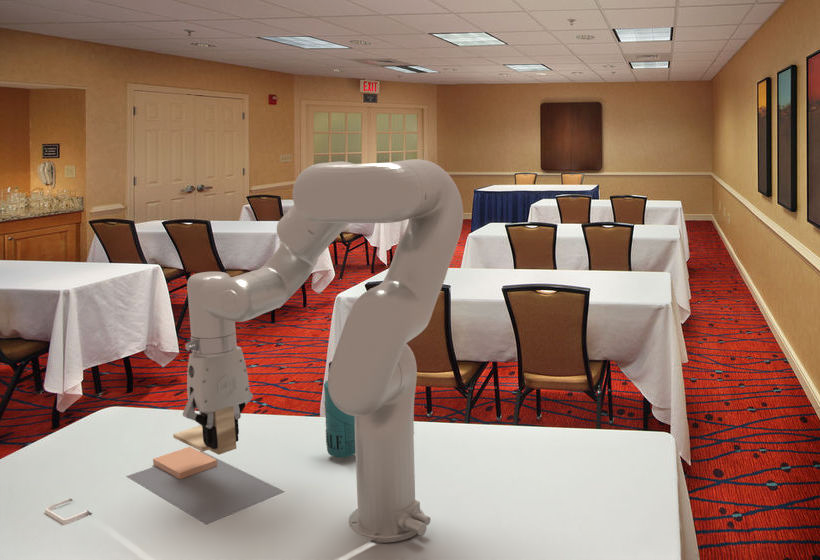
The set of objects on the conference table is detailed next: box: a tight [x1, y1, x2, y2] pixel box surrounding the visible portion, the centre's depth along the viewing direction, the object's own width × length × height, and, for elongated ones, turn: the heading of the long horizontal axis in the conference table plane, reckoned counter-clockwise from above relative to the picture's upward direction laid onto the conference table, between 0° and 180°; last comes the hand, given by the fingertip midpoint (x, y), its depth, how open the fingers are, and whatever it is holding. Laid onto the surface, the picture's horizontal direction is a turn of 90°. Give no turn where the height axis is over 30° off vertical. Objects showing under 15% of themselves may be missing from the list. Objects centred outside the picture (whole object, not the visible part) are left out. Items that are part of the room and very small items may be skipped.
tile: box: [152, 446, 217, 479], centre depth 153 cm, size 1×8×10 cm
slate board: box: [126, 450, 286, 525], centre depth 145 cm, size 28×16×1 cm, turn 46°
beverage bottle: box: [323, 361, 356, 458], centre depth 156 cm, size 6×7×20 cm
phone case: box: [44, 498, 93, 525], centre depth 141 cm, size 7×1×15 cm
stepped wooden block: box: [172, 406, 237, 455], centre depth 143 cm, size 13×6×8 cm, turn 46°
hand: (221, 442), depth 140 cm, fingers closed on stepped wooden block, 3 cm apart
